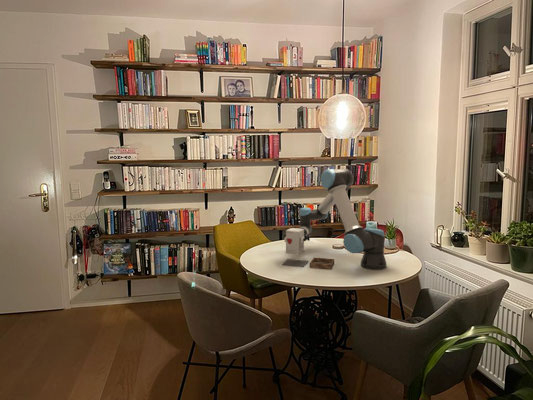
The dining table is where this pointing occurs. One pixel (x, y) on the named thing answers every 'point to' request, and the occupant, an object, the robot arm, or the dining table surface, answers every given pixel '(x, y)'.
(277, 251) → the dining table surface
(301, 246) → the supplement box
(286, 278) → the dining table surface
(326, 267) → the walnut holder
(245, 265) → the dining table surface
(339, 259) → the dining table surface
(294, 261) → the charcoal mat
